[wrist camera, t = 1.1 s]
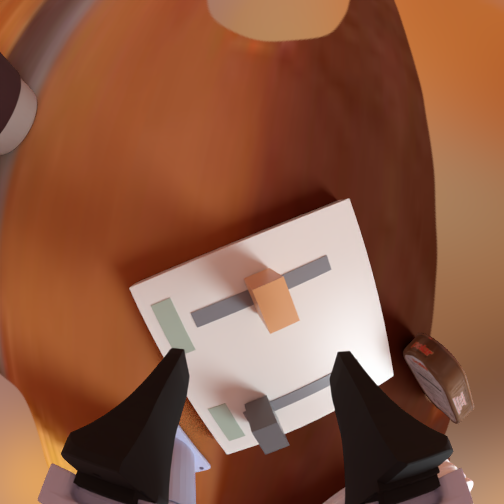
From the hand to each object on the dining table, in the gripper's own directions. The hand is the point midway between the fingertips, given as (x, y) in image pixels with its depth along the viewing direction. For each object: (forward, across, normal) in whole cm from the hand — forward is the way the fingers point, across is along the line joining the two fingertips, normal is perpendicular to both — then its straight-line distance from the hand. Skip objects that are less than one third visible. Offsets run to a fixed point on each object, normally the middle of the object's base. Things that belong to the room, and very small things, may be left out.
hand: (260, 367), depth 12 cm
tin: (+10, -19, +14) cm, 26 cm away
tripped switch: (+8, 0, +1) cm, 8 cm away
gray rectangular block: (+5, 0, +11) cm, 12 cm away
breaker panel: (+9, -2, +6) cm, 11 cm away
